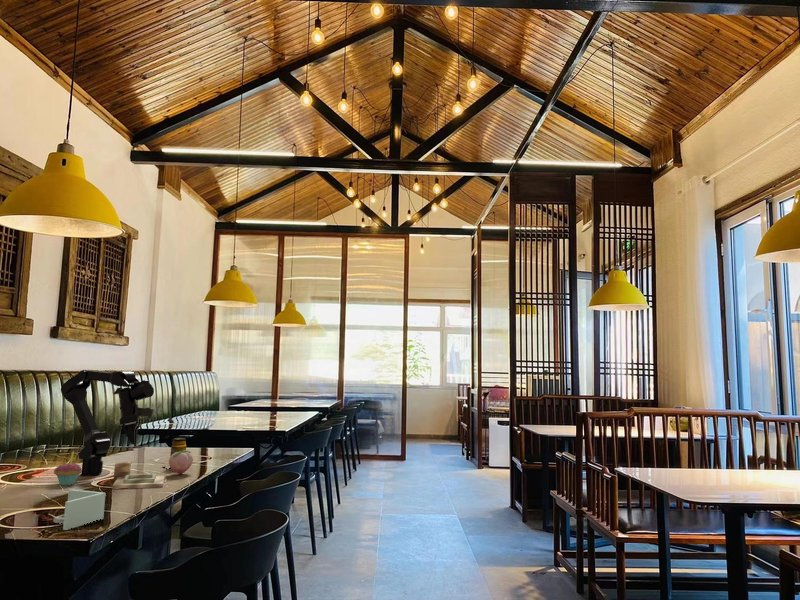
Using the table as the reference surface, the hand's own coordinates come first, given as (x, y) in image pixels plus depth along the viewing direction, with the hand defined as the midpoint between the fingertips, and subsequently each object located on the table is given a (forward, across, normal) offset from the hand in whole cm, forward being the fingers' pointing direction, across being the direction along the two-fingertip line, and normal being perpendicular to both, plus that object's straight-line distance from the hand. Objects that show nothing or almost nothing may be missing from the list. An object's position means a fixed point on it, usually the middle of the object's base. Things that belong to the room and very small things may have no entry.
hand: (133, 443), depth 212 cm
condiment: (+12, +23, -13) cm, 29 cm away
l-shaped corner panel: (+21, -59, +15) cm, 64 cm away
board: (+15, -9, -1) cm, 18 cm away
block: (+12, +2, +6) cm, 13 cm away
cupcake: (+9, -4, +22) cm, 25 cm away
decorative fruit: (+15, +6, -14) cm, 22 cm away
